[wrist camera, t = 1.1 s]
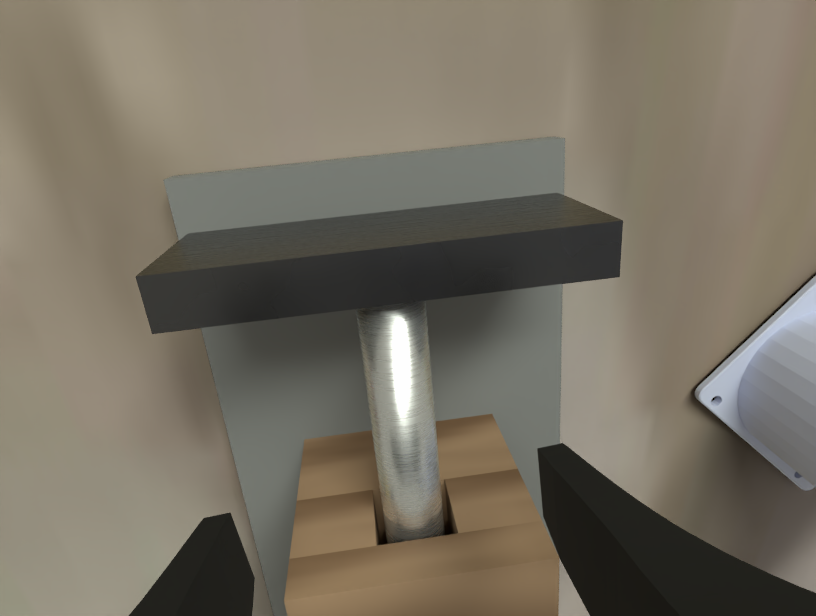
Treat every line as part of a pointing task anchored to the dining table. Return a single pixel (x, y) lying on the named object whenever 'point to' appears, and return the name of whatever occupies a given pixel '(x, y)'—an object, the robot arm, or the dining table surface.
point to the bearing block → (423, 558)
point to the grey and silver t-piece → (384, 301)
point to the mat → (338, 331)
